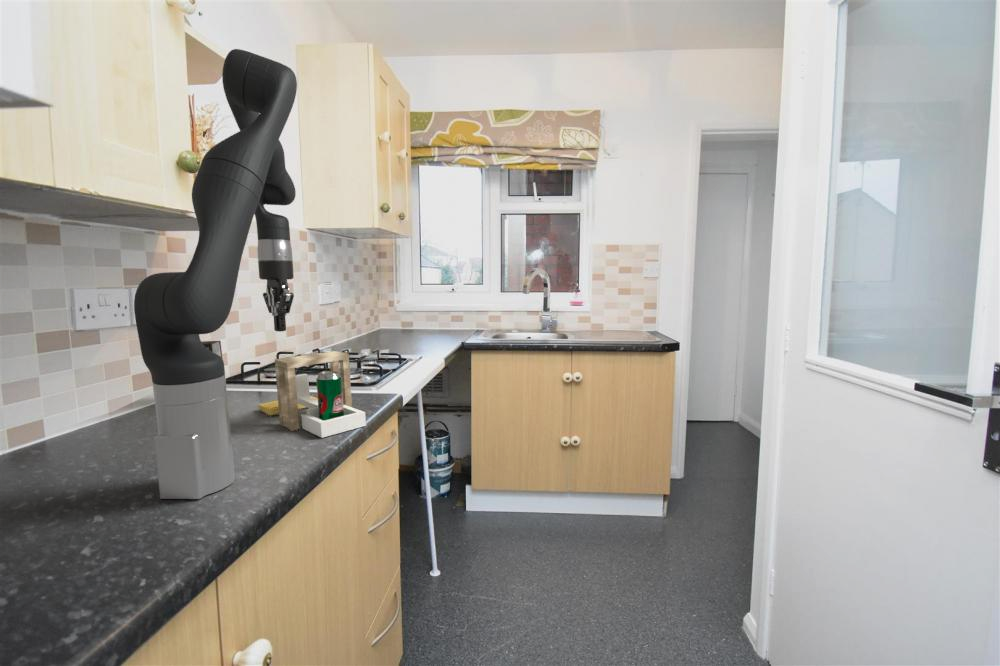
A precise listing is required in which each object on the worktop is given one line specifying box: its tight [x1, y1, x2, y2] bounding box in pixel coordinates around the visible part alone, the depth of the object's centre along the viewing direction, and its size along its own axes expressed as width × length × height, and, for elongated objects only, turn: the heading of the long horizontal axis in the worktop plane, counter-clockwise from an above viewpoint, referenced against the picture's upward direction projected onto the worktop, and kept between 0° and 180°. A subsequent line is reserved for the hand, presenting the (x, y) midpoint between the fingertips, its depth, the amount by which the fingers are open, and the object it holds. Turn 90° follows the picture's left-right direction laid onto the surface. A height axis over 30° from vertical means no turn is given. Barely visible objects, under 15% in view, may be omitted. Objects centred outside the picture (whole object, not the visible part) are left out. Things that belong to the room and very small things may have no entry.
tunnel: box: [274, 350, 353, 432], centre depth 104 cm, size 14×6×15 cm, turn 137°
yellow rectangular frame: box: [258, 395, 318, 417], centre depth 115 cm, size 12×7×2 cm, turn 137°
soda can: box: [315, 370, 344, 421], centre depth 99 cm, size 5×5×12 cm
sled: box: [295, 373, 367, 438], centre depth 103 cm, size 10×22×9 cm, turn 47°
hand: (280, 331), depth 114 cm, fingers closed
